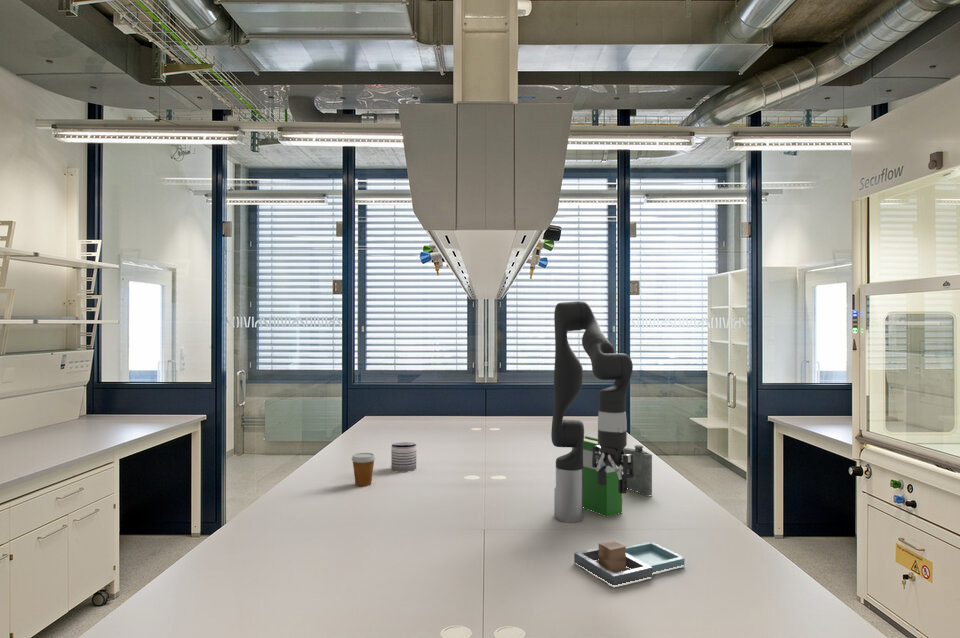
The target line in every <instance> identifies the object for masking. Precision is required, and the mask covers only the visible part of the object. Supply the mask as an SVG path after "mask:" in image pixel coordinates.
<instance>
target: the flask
mask: <svg viewBox="0 0 960 638" xmlns="http://www.w3.org/2000/svg"><path fill="white" fill-rule="evenodd" d="M643 449H644V446H643V445H639V444H637V445H635V444H634V448H630V447H625V448H624V454H626V455H628V454H632V455H633V472H634V477H633V478H628V480H627V488H628V489H632V490H634V491H633V492H635V491H638V492H640V493H643V494H644V495H652V496H653V454H652V453H650V452H647V451H644V450H643ZM627 472H628V473H629V469H628V470H627ZM628 489H627V490H628ZM632 490H631V491H632ZM640 493H639V494H640ZM644 495H643V496H644Z"/></svg>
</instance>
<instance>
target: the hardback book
mask: <svg viewBox="0 0 960 638" xmlns="http://www.w3.org/2000/svg"><path fill="white" fill-rule="evenodd" d="M593 446H598V437H597V438H596V437H592V436H587V435H584V445H583V507H584V508H586V509H585V510H587V509H589V510H592V511H594V512H593V513H595V512H597V513H600V514H602V515H601V516H603V515H605V516H609V517H611V516H610V515H613V516H615V515H614V514H617V515H619V514H618V513H621V512H622V513H623V494H620V493H619V492H618V479H619V477H618V475H617V472H615V471H614V469H613V468H612V467H610V466H608V467H607V468H606V470H604V471H606V485H602V486H600V485H598V471H597V470H596V468H595V467H593V466H592V456H593ZM573 448H574V447H571V451H572V450H573ZM597 462H598V459H596V463H597ZM619 467H622V466H621V465H620V466H619ZM621 473H622V474H623V472H622V471H621ZM584 508H583V509H584ZM589 510H588V511H589ZM592 511H591V512H592ZM597 513H596V514H597ZM622 513H621V514H622ZM600 514H599V515H600ZM605 516H604V517H605Z"/></svg>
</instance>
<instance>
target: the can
mask: <svg viewBox="0 0 960 638" xmlns="http://www.w3.org/2000/svg"><path fill="white" fill-rule="evenodd" d="M390 466H391V471H392V470H393V471H392V472H395V471H397V472H396V473H409V472H408V471H411V472H414V471H416V470H417V443H415V442H406V441H405V442H394V443H393V442H392V443H391V465H390ZM415 469H416V470H415Z"/></svg>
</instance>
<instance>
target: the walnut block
mask: <svg viewBox="0 0 960 638" xmlns="http://www.w3.org/2000/svg"><path fill="white" fill-rule="evenodd" d="M626 547H627V546H625V545H623V544H622V543H620V542H618V541H617V540H616V541H615V540H608V541H603V542H599V543H598V548H599V561H598V564H600V565H602V566H603V567H605V568H607V569H608V570H610V571H612V572H614V573H617V572H621V571H626V570H627V568H626Z"/></svg>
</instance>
